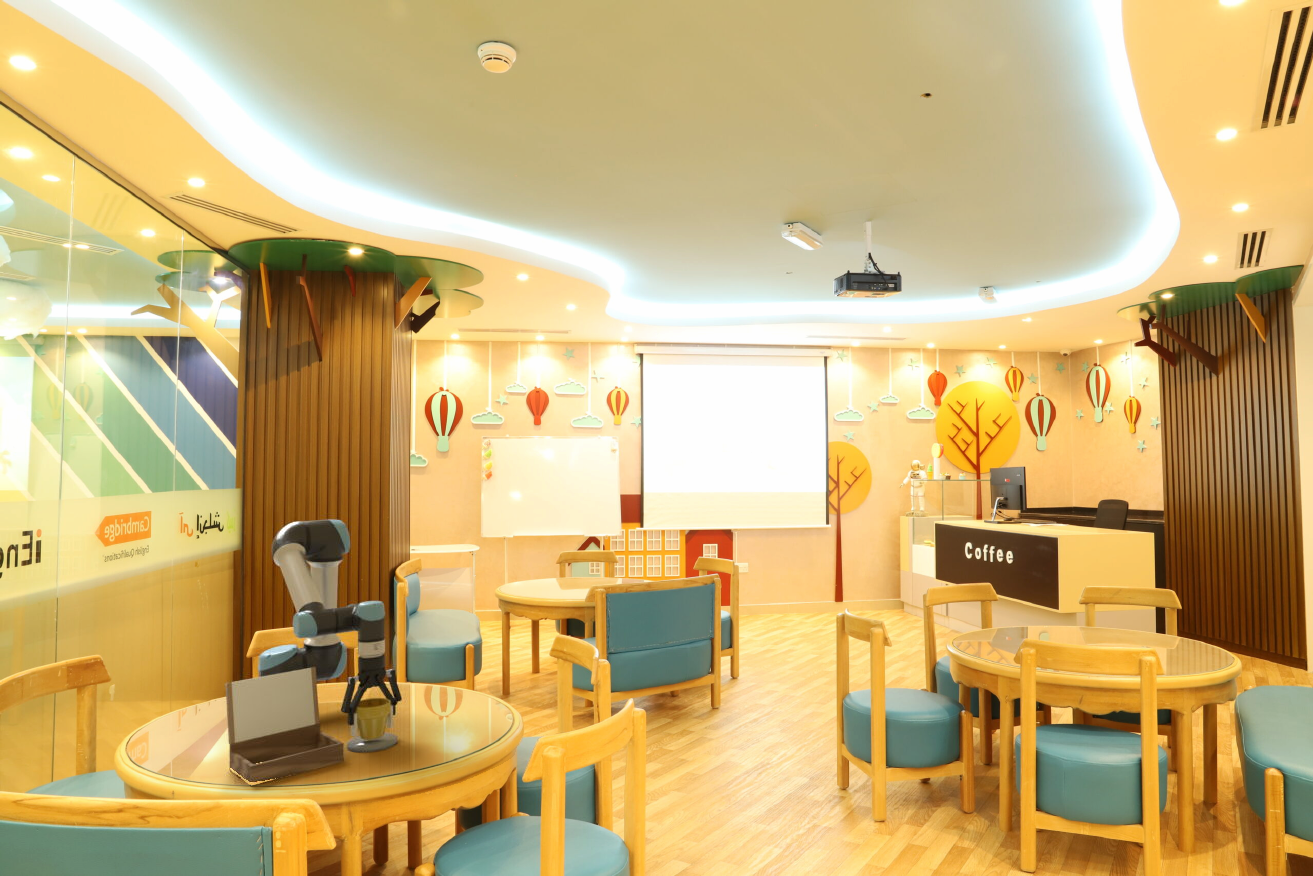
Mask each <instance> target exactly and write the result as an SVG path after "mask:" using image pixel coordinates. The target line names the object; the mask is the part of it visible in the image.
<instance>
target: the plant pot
mask: <svg viewBox="0 0 1313 876" xmlns="http://www.w3.org/2000/svg"><path fill="white" fill-rule="evenodd" d="M390 710H391V701H390V700H389V699H386V697H370V698H366V699H361V701H360V703H359V705H358V707H357V709H356V711H355V713H357V730H358V734H359V736H360V738H361V739H366V740H370V739H376V738H380V737H382V736H383V735H384V733H386V732H385V731H386V727H387V718H388V714H389V713H390Z"/></svg>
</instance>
